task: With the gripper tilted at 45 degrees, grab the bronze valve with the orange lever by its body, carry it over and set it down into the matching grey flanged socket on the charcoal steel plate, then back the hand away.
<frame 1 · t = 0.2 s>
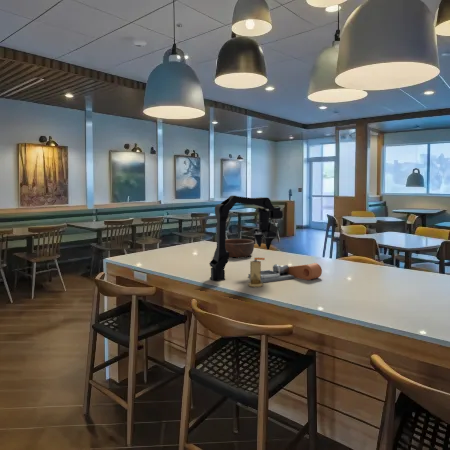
hand: (263, 248, 214), 15 cm above the table, tool pointing down, fingers open, 9 cm apart
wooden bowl: (236, 255, 271), on the table
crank: (302, 277, 209), on the table
socket plate: (271, 277, 206), on the table
valve: (255, 285, 191), on the table
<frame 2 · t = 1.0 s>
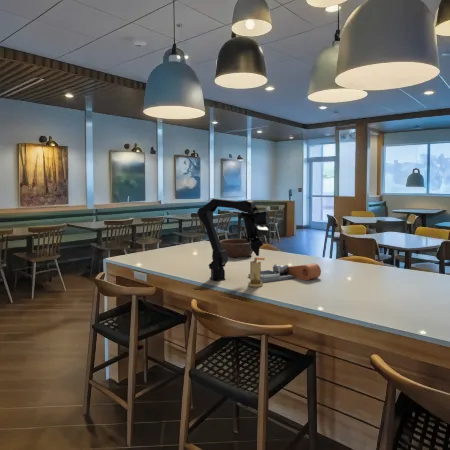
hand: (255, 252, 199), 15 cm above the table, tool tilted 20°, fingers open, 9 cm apart
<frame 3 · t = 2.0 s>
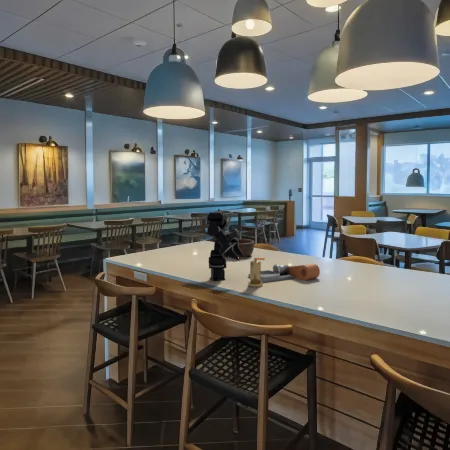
hand: (240, 257, 192), 14 cm above the table, tool tilted 45°, fingers open, 9 cm apart
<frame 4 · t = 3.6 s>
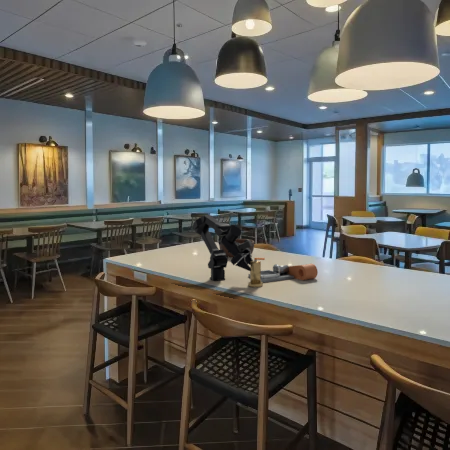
hand: (252, 268, 190), 9 cm above the table, tool tilted 45°, fingers open, 9 cm apart
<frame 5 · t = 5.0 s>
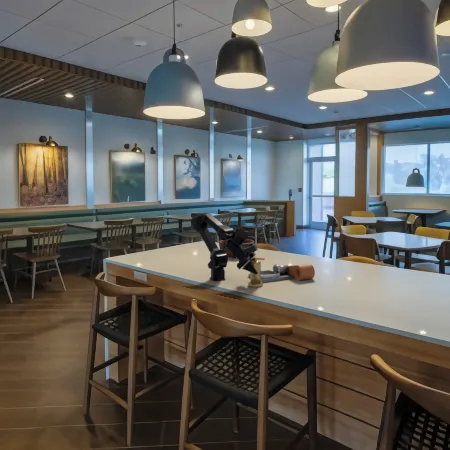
hand: (258, 272, 190), 7 cm above the table, tool tilted 45°, fingers closed on valve, 5 cm apart
valve: (255, 285, 191), on the table, touching gripper
when the fingers open (10 cm above the table, at t = 8.5 s): valve drops 2 cm, resting on socket plate.
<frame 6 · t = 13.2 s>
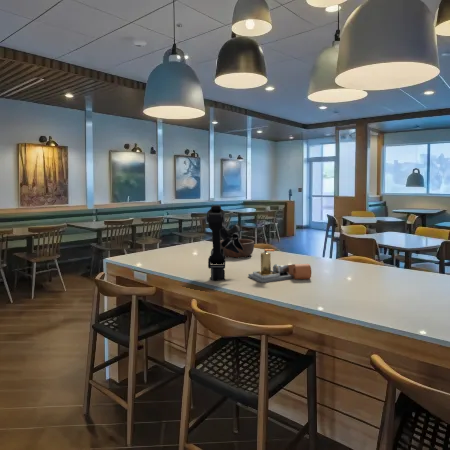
hand: (240, 251, 211), 14 cm above the table, tool tilted 45°, fingers open, 9 cm apart
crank: (298, 276, 210), on the table
valve: (265, 275, 205), point 2 cm above the table, touching socket plate
everything else where it was.
at the end: valve 0.1 cm from the target spot on the socket plate, point 1.6 cm above the socket plate's base; valve tilted 1°; the gripper is holding nothing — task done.
